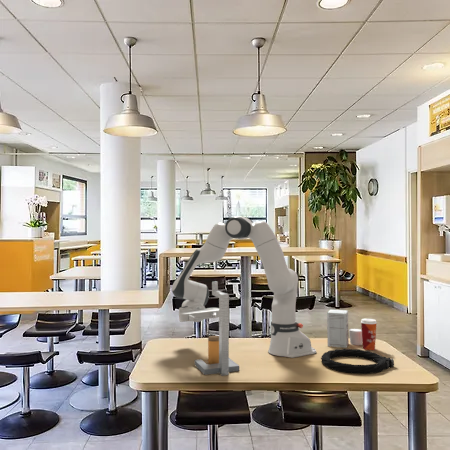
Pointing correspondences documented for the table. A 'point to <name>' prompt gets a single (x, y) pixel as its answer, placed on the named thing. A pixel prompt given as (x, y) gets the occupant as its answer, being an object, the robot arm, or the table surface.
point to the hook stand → (223, 329)
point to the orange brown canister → (213, 349)
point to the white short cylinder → (355, 336)
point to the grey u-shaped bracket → (214, 367)
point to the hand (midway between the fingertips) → (204, 317)
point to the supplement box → (337, 328)
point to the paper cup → (368, 333)
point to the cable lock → (359, 369)
